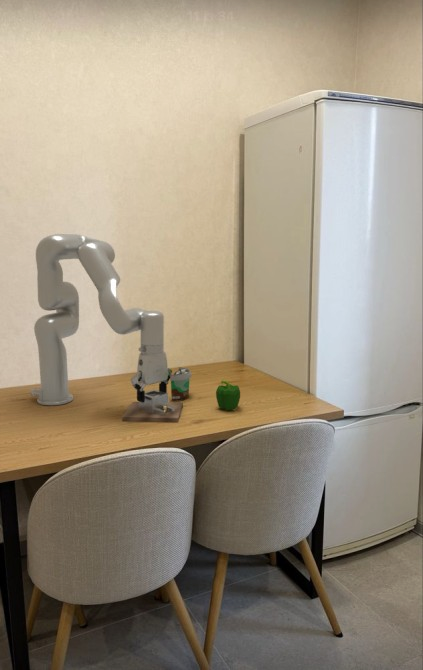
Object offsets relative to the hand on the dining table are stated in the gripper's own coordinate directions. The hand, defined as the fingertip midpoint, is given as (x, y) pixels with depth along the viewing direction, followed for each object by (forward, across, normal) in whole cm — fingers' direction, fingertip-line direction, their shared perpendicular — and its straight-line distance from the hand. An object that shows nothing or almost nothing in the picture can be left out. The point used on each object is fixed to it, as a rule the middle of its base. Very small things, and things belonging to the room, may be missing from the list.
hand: (152, 398), depth 177 cm
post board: (+5, 0, -1) cm, 5 cm away
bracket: (+4, 0, -2) cm, 4 cm away
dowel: (+4, 0, -6) cm, 7 cm away
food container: (+5, +20, +5) cm, 21 cm away
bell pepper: (+5, +21, -16) cm, 27 cm away
